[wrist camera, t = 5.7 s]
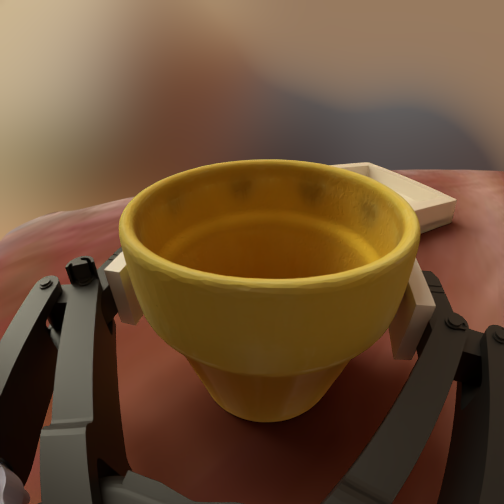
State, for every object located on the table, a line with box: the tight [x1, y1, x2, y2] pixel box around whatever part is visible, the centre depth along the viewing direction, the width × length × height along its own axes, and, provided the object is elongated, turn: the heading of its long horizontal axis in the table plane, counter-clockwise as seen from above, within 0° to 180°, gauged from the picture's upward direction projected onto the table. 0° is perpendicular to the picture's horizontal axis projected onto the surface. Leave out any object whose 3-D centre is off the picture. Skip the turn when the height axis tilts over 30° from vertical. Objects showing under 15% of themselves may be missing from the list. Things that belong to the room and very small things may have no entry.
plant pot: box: [119, 160, 421, 422], centre depth 13 cm, size 10×10×10 cm
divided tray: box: [331, 162, 457, 233], centre depth 31 cm, size 31×16×3 cm, turn 115°
